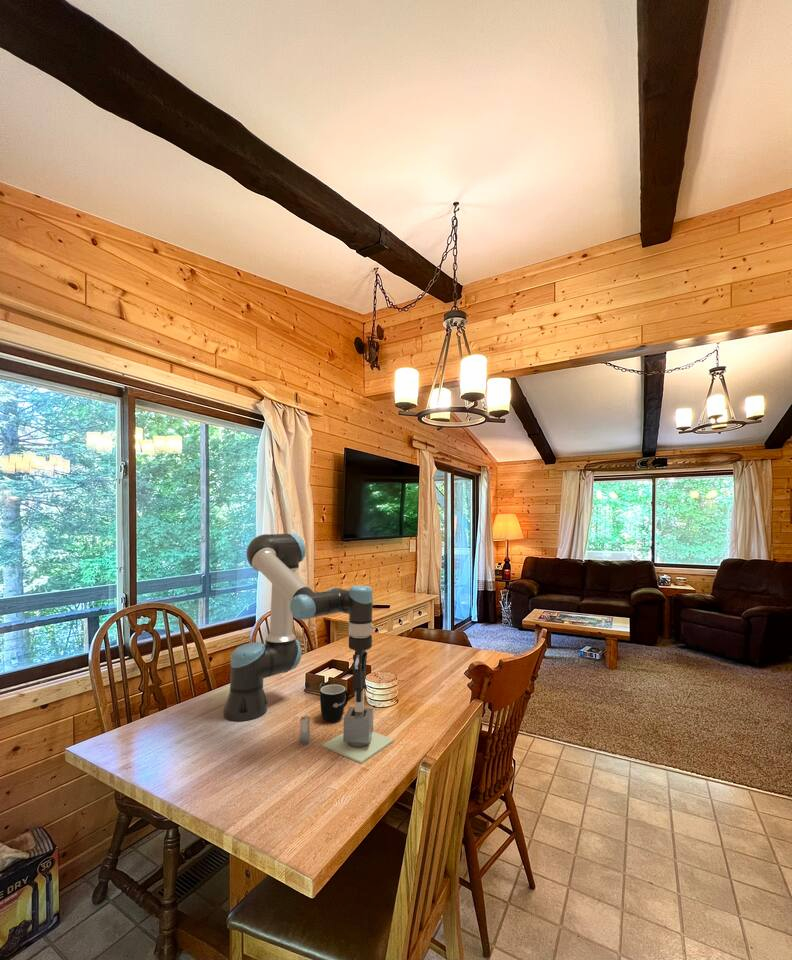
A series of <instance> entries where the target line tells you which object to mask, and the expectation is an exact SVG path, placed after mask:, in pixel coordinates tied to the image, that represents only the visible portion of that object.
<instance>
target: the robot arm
mask: <svg viewBox="0 0 792 960" xmlns="http://www.w3.org/2000/svg"><path fill="white" fill-rule="evenodd" d="M305 557H306V546H305V542H304V540H303V539H302V538H301V536H299V535H298V534H297V533H276V534H274V533H272V534H267V533H266V534H265V533H264V534H261V535H257V536H256V537H254V538H253V539H252V540H251V541H250V542H249V544H248V545H247V548H246V559H247V562H248V564H249V565H250V567H251V568H252V569H254V570H255V571H256V572H261V574H262V575H263V576H265V578H266V579H267V580H268V581H269V582H270V583H271V599H270V600H271V601H270V617H269V618H270V621H269V622H270V623H269V624H270V625H269V634H268V635H267V636H266V637H265V640H264V641H265V644H264V643H262V642H259V641H256V642H249V643H245V644H241V645H239V646H237V647H236V648H235V649H234V650H233V651H232V652H231V658H230V679H229V681H230V682H229V694H228V696H227V699H226V702H225V705H224V707H223V716H224V718H225V719H227V720H230V721H234V722H243V721H245V722H246V721H250V720H255V719H257V718H260V717H261V716H264V715H265V714H266V713H267V712H268V700H267V697H266V694H265V690H264V679H266V678H269V677H273V676H276V675H279V674H280V675H281V674H283V673H284V674H285V673H288V672H290V671H292V670H294V669H296V668H297V667H298V665H299V664H300V662H301V659H302V647H301V643H300V641H299V640H298V639H296V638H297V637H296V635H295V634H294V632H293V623H294V622H293V619H296V620H297V621H298V620H310V619H313V618H319V617H322V616H328V615H333V614H339V613H342V614H346V615H348V616H349V617H348V648H349V649H350V650H352V651H354V654H353V655H352V660H353V662H352V666H351V667H352V680H353V683H352V684H353V688H352V692H354V707H355V712H363V711H364V708H365V689H367V688H368V687H367V686H368V685H366V677H367V675H366V674H367V658H368V652H367V650H370V649H371V648H372V647H373V636H372V634H373V629H374V628H375V625H374V624H373V604H374V603H373V602H374V599H373V597H374V596H373V589H372V587H371V586H369V585H354V586H351V587H350V588H349V589H343V588H340V587H330V588H329V589H327V590H326V591H325V590H324V591H319V592H315V591H314V590H312V589H311V588H310V587H309V586H308V585H307V584H306V583H305V582H304V581H303V580H302V579H301V578H300V577H299V576H297V574H295V572H296V571H297V570H298V569H299V568H300V567H299V564H300V563H301V562H302V561H304V560H305V559H304V558H305Z"/></svg>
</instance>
